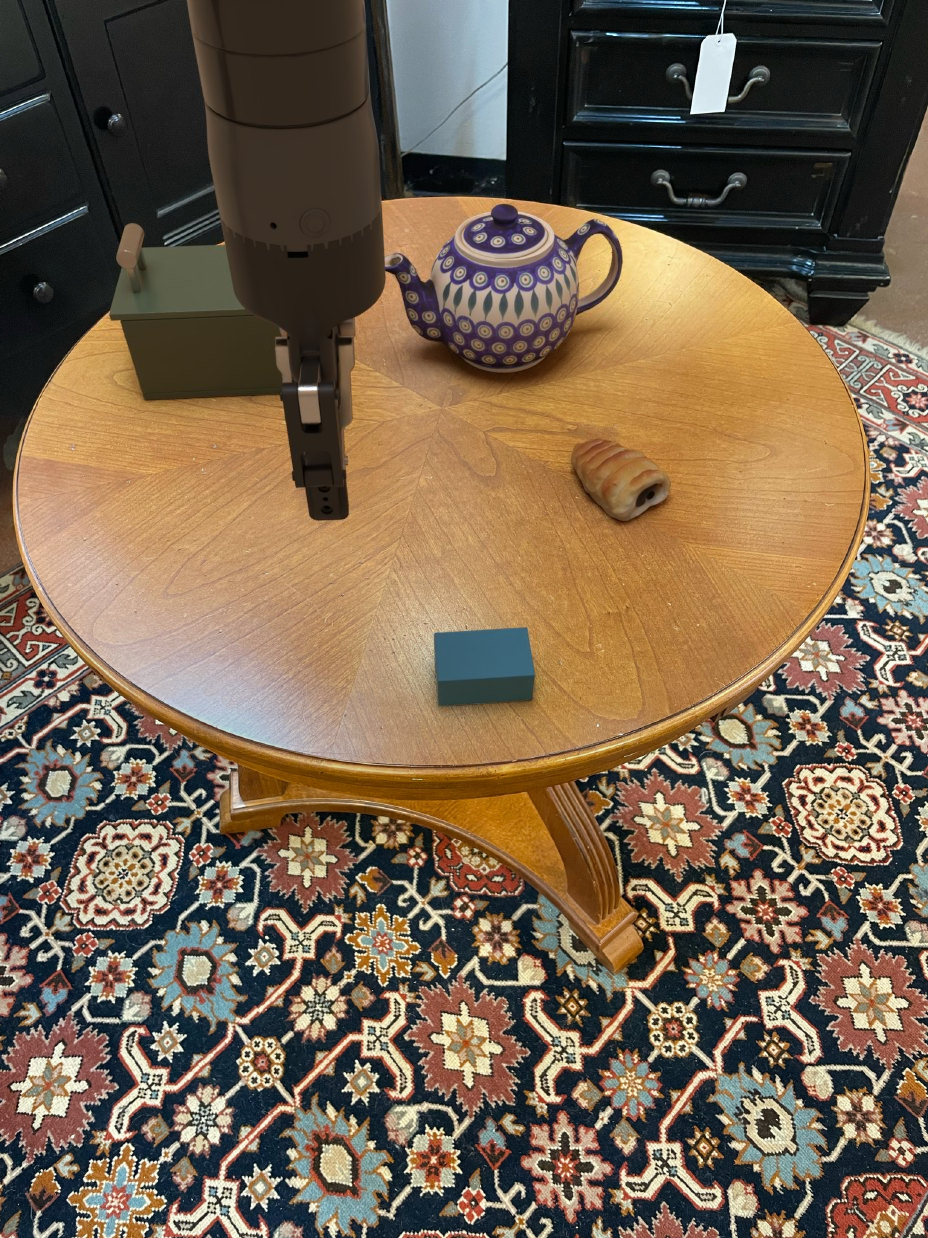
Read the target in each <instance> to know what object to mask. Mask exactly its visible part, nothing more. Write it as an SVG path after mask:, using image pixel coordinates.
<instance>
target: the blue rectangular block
mask: <svg viewBox="0 0 928 1238" xmlns="http://www.w3.org/2000/svg"><path fill="white" fill-rule="evenodd" d="M529 634H530V633H529V629H528V626H523V627H507V628H506V627H505V628H493V629H492V628H491V629H474V630H473V629H472V630H471V629H470V630H458V631H456V630H455V631H441V632H434V633H433V654H434V656H433V657H434V669H435V681H436V682H435V683H436V694H437V695H436V696H437V707H453V706H466V705H467V706H469V705H481V704H484V705H485V704H497V703H499V704H500V703H513V702H529V701H533V700H534V699H533V698H534V691H535V690H534V688H535V678H536V672H535V666H534V659H533V653H532V646H531V640H530V636H529Z"/></svg>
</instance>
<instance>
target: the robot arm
mask: <svg viewBox="0 0 928 1238" xmlns="http://www.w3.org/2000/svg"><path fill="white" fill-rule="evenodd" d="M186 3H187V4H186V5H187V10H188V17H189V24H190V29H191V31H190V32H191V36H192V43H193V48H194V52H195V58H196V64H197V69H198V76H199V80H200V81H199V82H200V86H201V91H202V96H203V99H204V100H203V101H204V102H203V103H204V108H205V121H206V139H207V141H206V142H207V152H208V159H209V165H210V172H211V177H212V182H213V187H214V193H215V194H214V195H215V197H216V199H215V200H216V203H217V204H216V205H217V208H218V215H219V219H220V225H221V231H222V235H223V241H224V245H225V247H226V252H227V257H228V263H229V268H230V274H231V279H232V284H233V289H234V293H235V295H236V297H237V299H238V301H239V302H240V304H241V305H242V306H243V307H244V308H245V309H246V310H247V311H248V312H250V313H251V314H253V315H254V316H256V317H258V318H260V319H262V320H264V321H268V322H270V323H272V324H274V325H276V326H278V327H279V329H280V332H281V335H282V337H276V338H275V351H276V365H277V368H278V369H279V370H280V371H281V373H282V382H283V383H282V390H280V394H279V400H280V402H282V406H283V412H284V422H285V426H286V427H285V428H286V433H287V440H288V447H289V453H290V461H291V467H292V471H291V479H292V482H294V487H295V489H296V488H297V489H304V490H305V497H306V504H307V509H308V510H307V511H308V516H309V517H310V519H311V520H313V521H319V522H320V521H321V522H322V521H344V520H345V519H348V517H349V515H350V503H349V492H348V483H347V466H349V457H348V455H346V444H345V442H346V441H345V429H346V427H348V426H350V425H351V423H352V422H353V421H354V419H353V418H354V412H353V411H354V410H353V394H352V390H353V389H352V371H353V370H354V369H355V365H356V359H355V358H356V356H355V338H356V318H357V317H358V316H360V315H362V314H364V313H365V312H367V311H368V310H370V308H372V307H373V306H374V305H375V304H376V303H377V302H378V301H379V299H380V298H381V296H382V294H383V292H384V289H385V286H386V282H387V281H386V277H387V275H386V271H385V257H386V256H385V255H386V254H385V241H384V240H385V239H384V221H383V220H384V219H383V203H382V201H383V200H382V199H383V197H382V182H381V181H382V180H381V167H380V166H381V163H380V149H379V148H380V147H379V139H378V134H377V127H376V122H375V118H374V113H373V112H374V111H373V106H372V98H371V97H372V96H371V88H370V87H371V86H370V70H369V51H368V50H369V49H368V35H367V34H368V33H367V20H366V19H367V17H366V6H365V0H186Z"/></svg>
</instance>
